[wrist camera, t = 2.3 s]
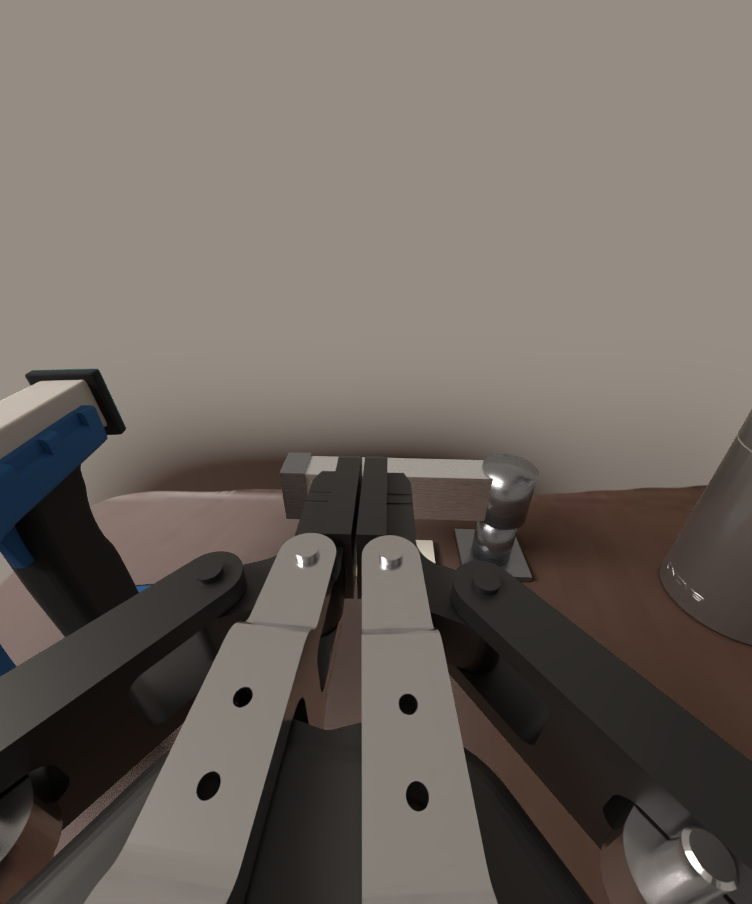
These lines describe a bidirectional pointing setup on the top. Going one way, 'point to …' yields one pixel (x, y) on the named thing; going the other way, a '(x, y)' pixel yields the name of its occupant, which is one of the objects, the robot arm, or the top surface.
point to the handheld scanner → (58, 498)
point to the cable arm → (436, 486)
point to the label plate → (426, 549)
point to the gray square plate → (493, 549)
